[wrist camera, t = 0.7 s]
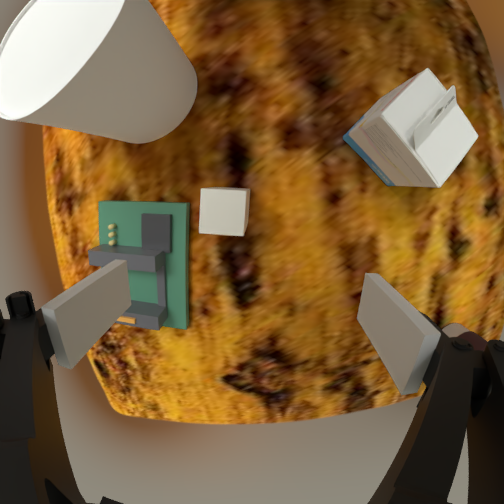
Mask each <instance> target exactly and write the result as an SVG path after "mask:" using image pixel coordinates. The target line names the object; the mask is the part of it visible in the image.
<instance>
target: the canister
mask: <svg viewBox="0 0 504 504" xmlns="http://www.w3.org/2000/svg"><path fill="white" fill-rule="evenodd" d="M196 93H197V76H196V72H195V70H194V67H193V66H192V64H191V62H190V61H189V59H188V58H187V56H186V55H185V53H184V52H183V50H182V49H181V47H180V46H179V44H178V43H177V41H176V40H175V38H174V37H173V35H172V34H171V32H170V31H169V29H168V28H167V26H166V25H165V24H164V22H163V21H162V19H161V18H160V16H159V15H158V14H157V12H156V11H155V9H154V8H153V6H152V5H151V4H150V2H149V1H148V0H31V1H30V2H29V3H28V4H27V5H26V6H25V7H24V9H23V10H22V11H21V12H20V13H19V15H18V16H17V18H16V19H15V20H14V22H13V23H12V25H11V26H10V28H9V30H8V31H7V33H6V35H5V36H4V38H3V40H2V42H1V44H0V117H2V118H4V119H7V120H14V121H21V122H28V123H35V124H41V125H47V126H53V127H58V128H64V129H69V130H74V131H79V132H84V133H89V134H94V135H98V136H103V137H107V138H111V139H116V140H120V141H124V142H128V143H135V144H141V143H148V142H152V141H155V140H157V139H160V138H162V137H164V136H165V135H167V134H169V133H170V132H171V131H173V130H174V129H175V128H176V127H177V126H178V125H179V124H180V123H181V122H182V121H183V120H184V119H185V117H186V116H187V115H188V113H189V111H190V110H191V108H192V106H193V103H194V101H195V98H196Z"/></svg>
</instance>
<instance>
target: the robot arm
mask: <svg viewBox="0 0 504 504" xmlns="http://www.w3.org/2000/svg"><path fill="white" fill-rule="evenodd" d="M5 300H6V304H7V308H8V311H9V315H10V319H3V316H2V312H1V310H0V504H93V503H86V502H85V500H84V498H83V497H82V495H81V494H80V492H79V489H78V487H77V484H76V481H75V478H74V475H73V472H72V468H71V465H70V462H69V458H68V454H67V451H66V446H65V442H64V438H63V434H62V429H61V424H60V418H59V413H58V407H57V400H56V393H55V385H54V376H53V365H52V362H51V360H50V357H51V356H52V355H53V354H55V356H56V359H57V362H58V364H59V365H60V366H63V367H66V368H69V369H72V368H73V367H74V366H75V365H76V364H77V363H78V362H79V360H80V359H81V358H82V357H83V356H84V355H85V354H86V353H87V352H88V350H89V349H90V348H91V347H92V346H93V345H94V344H95V343H96V342H97V341H98V340H99V339H100V337H101V336H102V335H103V334H104V333H105V332H106V331H107V330H108V329H109V328H110V327H111V326H112V325H113V324H114V323H115V322H116V320H117V319H118V318H119V317H120V316H121V315H122V314H123V313H124V312H125V311H126V310H127V309H128V308H129V307H130V306H131V297H130V288H129V279H128V269H127V260H117V259H115V260H114V261H112V262H110V263H109V264H107V265H105V266H104V267H102V268H101V269H99V270H97V271H96V272H94V273H92V274H91V275H89V276H88V277H86V278H84V279H83V280H81V281H80V282H78V283H77V284H75V285H74V286H72V287H70V288H69V289H67V290H66V291H64V292H63V293H61V294H60V295H58V296H57V297H55V298H54V299H52V300H51V301H49V302H48V303H46V304H45V305H44V306H42V307H41V309H39V310H38V311H35V307H34V303H33V299H32V295H31V293H30V292H29V291H19V292H15V293H12V294H10V295H9V296H7V297H6V299H5ZM357 320H358V321H359V323H360V325H361V326H362V328H363V330H364V331H365V333H366V335H367V336H368V338H369V339H370V341H371V343H372V345H373V346H374V348H375V350H376V351H377V353H378V355H379V356H380V358H381V360H382V362H383V363H384V365H385V367H386V368H387V370H388V372H389V374H390V376H391V377H392V379H393V381H394V383H395V384H396V386H397V388H398V390H399V392H400V393H401V395H405V394H411V393H416V392H417V391H418V389H419V387H420V385H421V383H422V380H423V382H424V383H425V385H426V386H427V387H426V389H425V391H424V393H423V395H422V397H421V399H420V401H419V403H418V405H417V411H416V413H415V416H414V418H413V421H412V423H411V425H410V428H409V430H408V432H407V434H406V436H405V439H404V441H403V443H402V445H401V447H400V449H399V451H398V453H397V455H396V457H395V459H394V461H393V462H392V464H391V466H390V468H389V470H388V471H387V474H386V475H385V477H384V479H383V480H382V482H381V483H380V485H379V487H378V489H377V490H376V492H375V493H374V495H373V496H372V498H371V499H370V501H369V502H368V504H452V503H448V502H447V498H448V494H449V492H450V489H451V486H452V483H453V479H454V476H455V473H456V469H457V466H458V462H459V459H460V455H461V450H462V446H463V441H464V437H465V432H466V427H467V439H468V456H469V457H468V458H469V487H468V504H504V342H502V341H501V340H489V341H488V343H487V345H486V347H485V350H484V351H482V350H474V347H473V345H472V344H471V343H470V342H469V341H467V340H465V339H463V338H459V337H450V338H449V337H448V336H447V335H446V334H445V333H444V332H443V331H442V330H441V329H440V328H439V327H437V325H436V324H435V323H434V322H433V321H432V320H431V319H430V318H429V317H428V316H427V315H425V314H423V313H421V312H420V311H418V310H417V309H416V308H415V307H413V306H412V305H411V304H410V303H409V302H408V301H407V300H406V299H405V298H404V297H403V296H402V295H401V294H400V293H399V292H398V291H396V290H395V289H394V288H393V287H392V286H391V285H390V284H389V283H388V282H387V281H386V280H384V279H383V278H382V277H381V276H380V275H379V274H377V273H365V278H364V284H363V290H362V295H361V300H360V305H359V310H358V315H357ZM100 504H123V503H120V502H117V501H114V500H111V499H109V498H106V497H104V496H103V497H102V500H101V502H100Z"/></svg>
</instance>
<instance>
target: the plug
mask: <svg viewBox="0 0 504 504" xmlns="http://www.w3.org/2000/svg"><path fill="white" fill-rule="evenodd" d="M249 202H250V189H244V188H228V187H210V188H201V197H200V220H199V233H205V234H211V235H225V236H244V233H245V230H246V227H247V225H248V216H249Z"/></svg>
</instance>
